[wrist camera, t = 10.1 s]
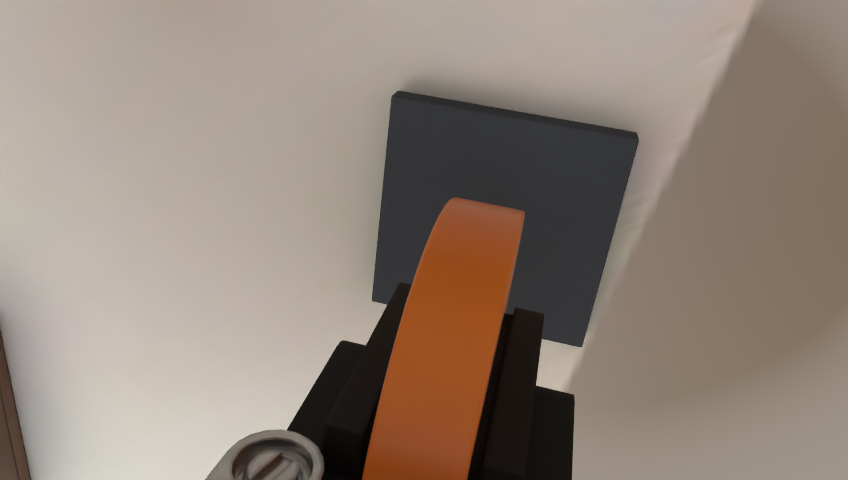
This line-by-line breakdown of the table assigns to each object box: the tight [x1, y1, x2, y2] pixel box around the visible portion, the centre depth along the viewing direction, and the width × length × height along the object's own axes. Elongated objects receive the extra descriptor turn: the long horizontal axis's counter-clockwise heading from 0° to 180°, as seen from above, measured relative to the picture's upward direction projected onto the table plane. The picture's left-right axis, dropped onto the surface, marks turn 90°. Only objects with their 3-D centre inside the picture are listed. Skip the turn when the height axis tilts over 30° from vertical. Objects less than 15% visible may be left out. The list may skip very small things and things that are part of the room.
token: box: [362, 197, 525, 480], centre depth 11 cm, size 1×7×7 cm, turn 173°
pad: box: [372, 91, 639, 347], centre depth 18 cm, size 6×6×1 cm
